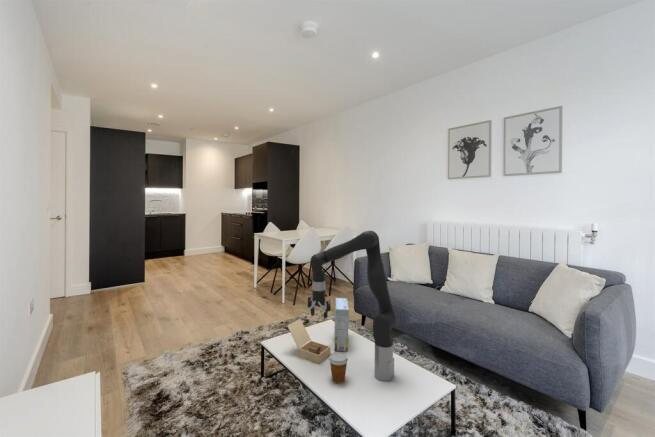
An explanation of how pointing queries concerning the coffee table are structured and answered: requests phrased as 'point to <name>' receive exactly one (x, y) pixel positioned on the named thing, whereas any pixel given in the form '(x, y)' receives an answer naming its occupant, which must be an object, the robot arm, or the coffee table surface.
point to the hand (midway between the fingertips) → (318, 316)
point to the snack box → (341, 324)
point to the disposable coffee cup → (338, 366)
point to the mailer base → (312, 357)
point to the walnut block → (315, 349)
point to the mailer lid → (299, 333)
